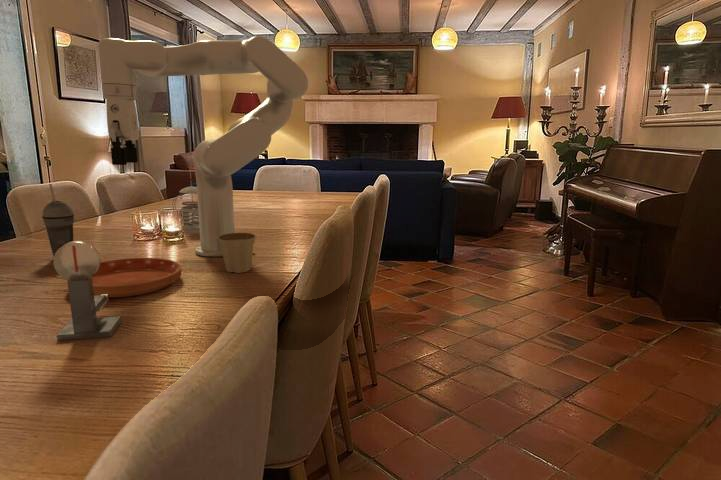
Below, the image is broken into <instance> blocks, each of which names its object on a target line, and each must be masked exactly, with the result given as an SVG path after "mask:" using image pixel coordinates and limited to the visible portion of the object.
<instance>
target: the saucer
mask: <svg viewBox="0 0 721 480" xmlns="http://www.w3.org/2000/svg"><path fill="white" fill-rule="evenodd" d="M181 276H182V265H181V264H180V263H178V262H177V261H175V260H172V259H167V258H159V257H158V258H157V257H129V258H119V259H117V258H116V259H111V260H105V261H104V260H103V261H101V263H100V267H99V269H98V271H97V272H96V273H95V274H94V275H93V276H91V277H92V283H93V291H94V296H96V295H101V294H108V298H112V299H113V298H124V297H125V298H127V297H132V296H133V297H134V296H139V295H144V294H150V293H152V292H156V291H159V290H162V289H164V288H166V287H169V286H170V285H171V284H173V282H176V281H177V280H178V279H179V278H180V277H181ZM67 281H68V280H67V279H66V282H67Z"/></svg>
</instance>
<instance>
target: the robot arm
mask: <svg viewBox="0 0 721 480" xmlns="http://www.w3.org/2000/svg"><path fill="white" fill-rule="evenodd" d="M97 49H98V50H97V51H98V60H99V70H100V71H99V72H100V81H101V91H102V99H104V100H106V106H105V107H106V123H107V132H108V133H107V134H108V138H109V141H110V143H109V144H110V145H109V147H110V153H111V164H112V165H113V166H126V165H127V164H129V163H131V164H132V163H133V164H135V163H136V164H137V163H138V150H137V149H138V148H137V142H136V141H138V140H139V139H140V129H139V120H138V113H137V107H136V103H135V102H136V101H137V100H138V98H137V97H138V96H137V85H136V73H135V72H136V71H137V72H138V73H140V75H142V76H145V77H150V78H151V77H153V78H156V77H178V76H179V77H181V76H212V75H228V74H229V75H233V74H237V75H239V74H240V75H241V74H256V73H259V72H260V74H261V75H262V76H264V77H265V78H266V79H267V83H266V97H265V99H264V101H263V102H262V103H261V104H260V105H258V106H257V107H256V108H254V109H253V110H252V111H250V112H248V113H246V114H245V115H244V116H242V117H241V118H239V119H237V120H236V121H235V120H234V122H232V124H231V125H229V128H228V131H227V132H226V133H224V134H222V135H221V136H219V137H218V138H216V139H213V138H211V139H206V140H202V141H201V142H200V143H199V144H198V145H197V146H196V148H195V149H194V153H193V158H192V161H193V167H194V168H193V169H194V174H195V181H196V187H197V201H198V211H199V220H198V221H199V226H200V232H199V238H200V239H199V240H200V245H199V246H197V247H196V248H195V249H194V250H195V251H194V252H195V254H196V255H198V256H201V257H209V258H210V257H213V258H214V257H215V258H216V257H223V253H222V248H221V245H220V244H219V240H218V239H217V237H218V236H220V235H223V234H228V233H236V232H235V214H234V213H235V211H234V191H233V190H234V188H233V181H232V180H233V179H232V175H233V174H235V173H236V172H238V171H239V170H241V169H242V168H243V167H245V166H246V165H248V164H249V163H251V162H252V161H253V160H255V159H256V158H258V157H259V156H260V155H261V154H263V153H264V152H265V151H266V150H267V148H268V147H269V146H270V144H271V143H272V142H271V141H272V136H273V135H274V134H276V133H277V132H278V131H279V130H280V129H282V128H283V127H284V126H285V125H286V124H287V122H288V121H289V120H290V117H291V114H292V111H293V106H294V105H293V104H294V102H293V101H294V100H296V99H297V100H298V99H299V98H301V97H303V96H304V95H305V94H306V92H307V91H308V88H309V79H308V76H307V75H306V74H307V73H305V71H304V70H303V69H302V68H301V67H300V66H299V65H298V64H297V63H296V62H295V61H293V60H292V58H291V57H289V56H288V54H286V53H285V52H284V51H283V50H282V49H281V48H280V47H278V46H277V45H276V44H275V43H274V42H272V41H271V40H270V39H268V38H267V37H264V36H262V35H255V36H252V37H250V38H248V39H242V40H241V39H231V40H230V39H228V40H227V39H226V40H225V39H222V40H221V39H206V40H205V39H204V40H203V39H202V40H199V41H196V42H192V43H189V44H185V45H175V46H163V45H162V44H161V43H159V42H157V41H155V40H153V41H152V40H125V39H121V38H113V37H110V38H109V37H107V38H105V37H104V38H101V39H100V40H99V41H98V44H97Z"/></svg>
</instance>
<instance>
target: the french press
mask: <svg viewBox="0 0 721 480" xmlns="http://www.w3.org/2000/svg"><path fill="white" fill-rule="evenodd" d="M186 162H189V164H191V162H193V158H191V157H189V158H186ZM191 171H192V170H191V167H189V175H190V178H192V172H191ZM178 193H180V194H179V195H177V196H175V197H174V198H173V200H172V203H171V204H172V210H173V211H174V210H177V208H176V202H177V201H176V200H177V199H178V198H179V199H180V200H182V199H183V195H182V194H185V195H186V194H189V195H194V194H197V186H193V184H192V181H190V186H187V187H184V188H182V189H181V190H179V192H178ZM181 205H183V206H181V207H180V213H181V212H182V221H181V223H182V222H183V231H184V233H183V234H197V233H199V234H200V226H199V211H198V200H196V201H194V199H193V196H191V201H190V200H189V201H182V202H181Z"/></svg>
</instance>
